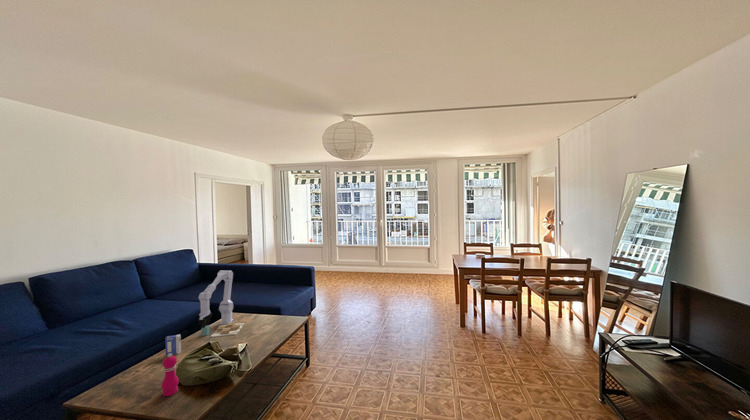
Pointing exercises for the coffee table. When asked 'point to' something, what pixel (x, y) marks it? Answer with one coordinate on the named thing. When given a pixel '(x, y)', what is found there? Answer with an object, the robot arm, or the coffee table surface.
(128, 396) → the coffee table surface
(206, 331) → the piece
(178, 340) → the walkman
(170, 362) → the pepper mill
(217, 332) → the board
